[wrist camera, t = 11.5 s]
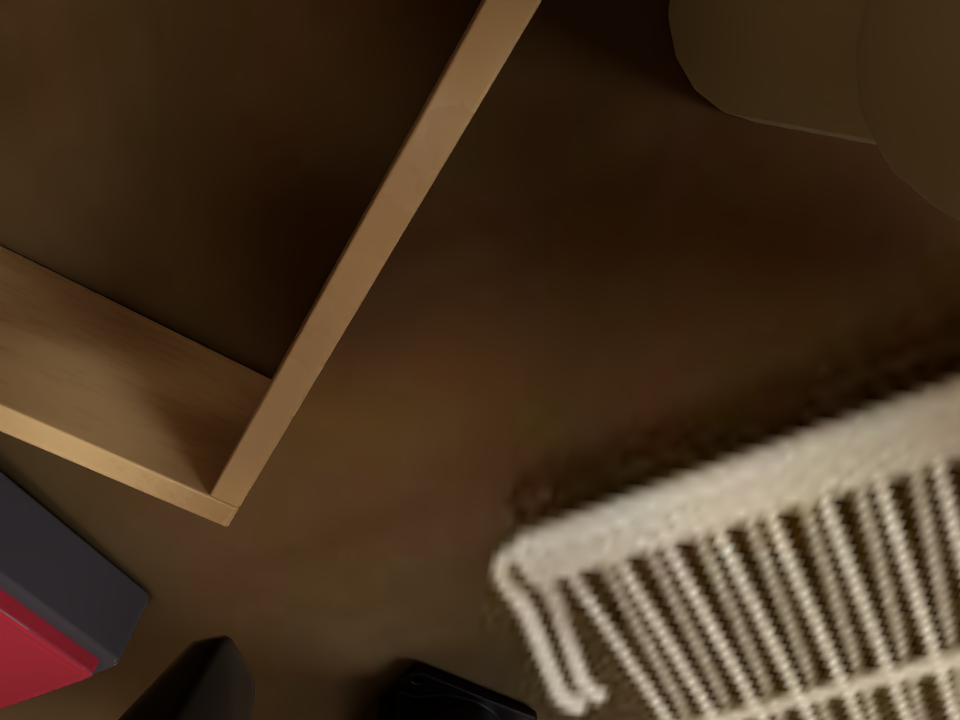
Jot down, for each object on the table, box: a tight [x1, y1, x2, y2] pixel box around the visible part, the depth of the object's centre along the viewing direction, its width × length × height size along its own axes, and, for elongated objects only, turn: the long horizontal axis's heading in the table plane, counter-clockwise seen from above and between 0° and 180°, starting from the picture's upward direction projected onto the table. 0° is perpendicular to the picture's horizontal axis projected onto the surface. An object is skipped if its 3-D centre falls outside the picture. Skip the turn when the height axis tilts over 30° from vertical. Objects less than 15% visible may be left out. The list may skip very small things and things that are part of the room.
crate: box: [0, 0, 542, 527], centre depth 14 cm, size 17×17×6 cm
